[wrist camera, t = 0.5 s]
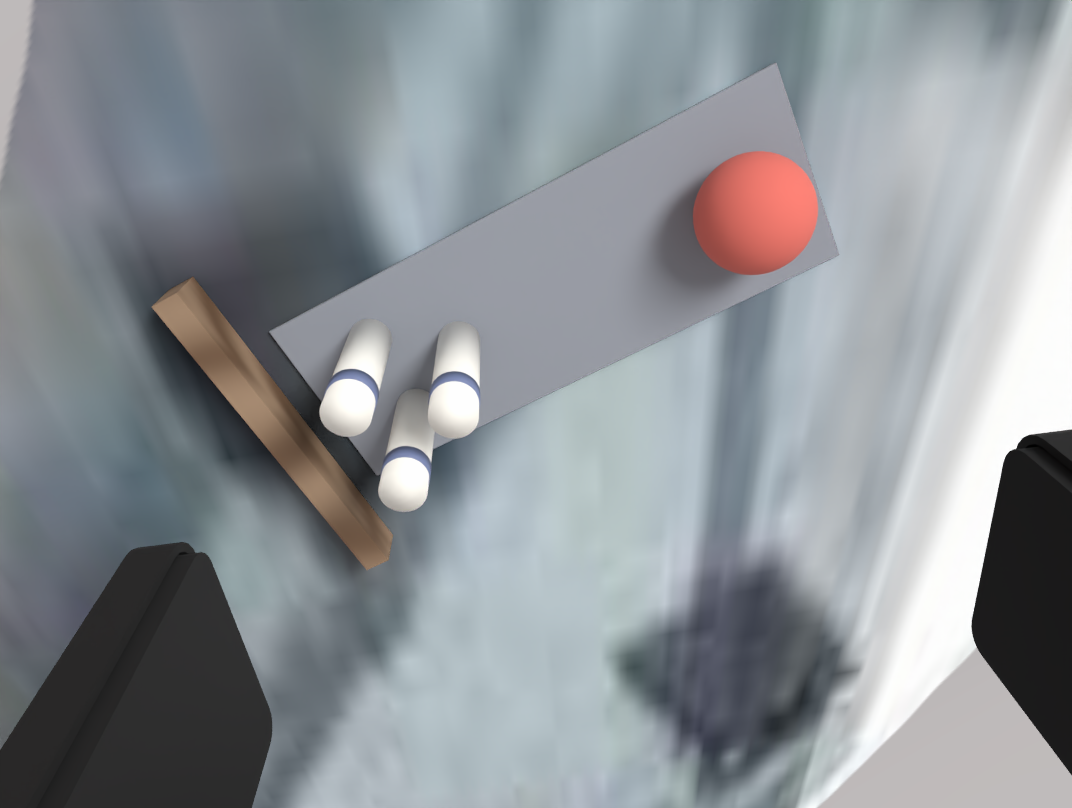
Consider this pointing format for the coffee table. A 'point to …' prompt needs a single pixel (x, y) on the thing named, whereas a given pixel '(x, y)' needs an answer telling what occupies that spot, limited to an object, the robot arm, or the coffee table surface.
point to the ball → (755, 213)
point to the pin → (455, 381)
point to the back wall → (273, 419)
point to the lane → (567, 267)
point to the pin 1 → (356, 379)
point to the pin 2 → (408, 454)
